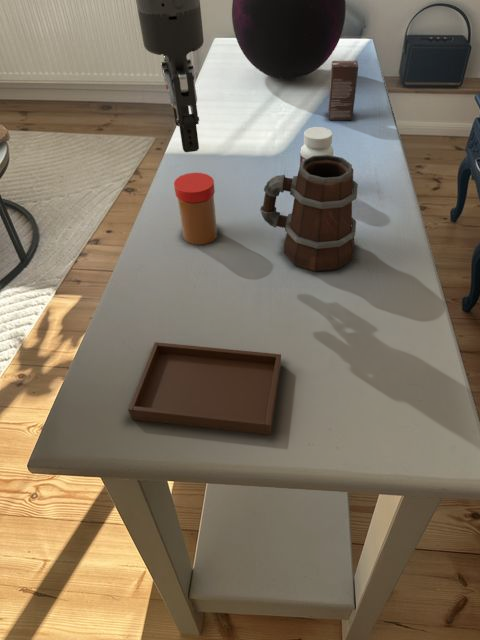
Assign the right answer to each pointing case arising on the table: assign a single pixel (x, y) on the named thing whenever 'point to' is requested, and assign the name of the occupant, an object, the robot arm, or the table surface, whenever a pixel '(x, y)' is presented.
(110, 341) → the table surface
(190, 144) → the robot arm
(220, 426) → the tray
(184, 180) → the lid
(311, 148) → the pill bottle
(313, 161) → the mug
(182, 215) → the jar
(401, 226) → the table surface
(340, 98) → the box
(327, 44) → the dark purple ball
